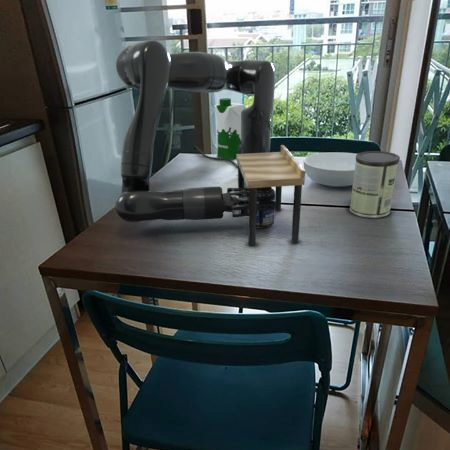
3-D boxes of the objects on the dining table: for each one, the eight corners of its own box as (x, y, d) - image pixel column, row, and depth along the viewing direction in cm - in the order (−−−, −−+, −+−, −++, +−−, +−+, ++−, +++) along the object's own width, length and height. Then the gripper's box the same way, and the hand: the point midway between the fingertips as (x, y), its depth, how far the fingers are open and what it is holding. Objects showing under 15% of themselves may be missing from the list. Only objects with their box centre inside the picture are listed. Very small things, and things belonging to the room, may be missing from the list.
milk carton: (213, 157, 165) (211, 99, 154) (229, 152, 170) (228, 95, 160) (231, 160, 160) (230, 101, 149) (247, 155, 165) (247, 97, 155)
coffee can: (353, 201, 121) (360, 149, 113) (392, 206, 117) (402, 152, 110) (345, 215, 113) (352, 159, 106) (386, 220, 109) (397, 163, 102)
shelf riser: (237, 211, 118) (236, 147, 109) (281, 208, 118) (283, 145, 109) (247, 246, 99) (247, 173, 90) (300, 243, 100) (305, 170, 91)
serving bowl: (376, 176, 139) (379, 154, 136) (365, 197, 124) (368, 173, 120) (311, 170, 147) (313, 149, 143) (293, 189, 131) (295, 166, 127)
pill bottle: (274, 219, 111) (276, 175, 105) (274, 229, 105) (276, 183, 100) (249, 218, 111) (250, 175, 105) (248, 228, 106) (248, 183, 100)
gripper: (203, 198, 96) (279, 194, 97) (200, 178, 108) (267, 175, 109) (204, 230, 100) (277, 226, 101) (201, 207, 112) (266, 204, 113)
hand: (272, 199), depth 105 cm, fingers closed on pill bottle, 6 cm apart
